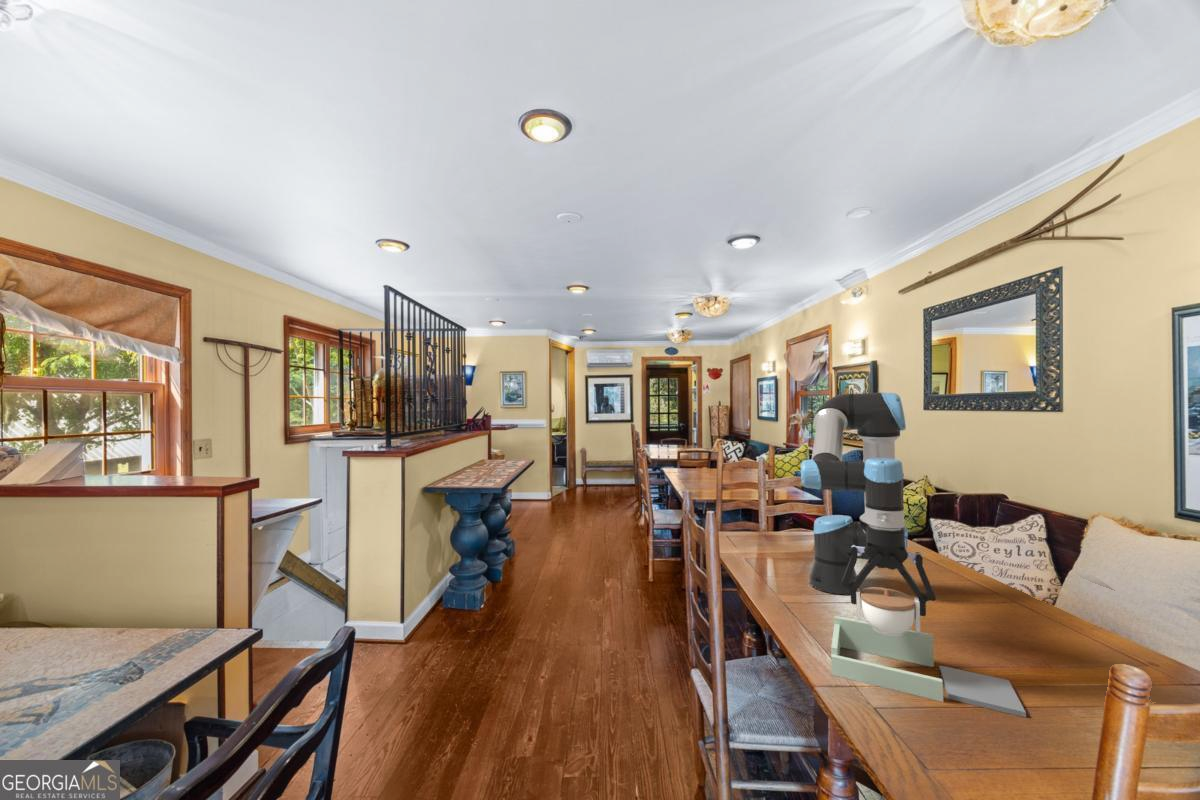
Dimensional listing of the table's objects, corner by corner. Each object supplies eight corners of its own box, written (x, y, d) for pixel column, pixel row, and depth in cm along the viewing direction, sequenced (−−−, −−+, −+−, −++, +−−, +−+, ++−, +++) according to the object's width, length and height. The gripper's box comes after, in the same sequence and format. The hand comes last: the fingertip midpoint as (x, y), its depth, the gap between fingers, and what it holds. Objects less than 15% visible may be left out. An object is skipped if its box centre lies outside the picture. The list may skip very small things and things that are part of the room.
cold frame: (835, 643, 116) (834, 615, 116) (933, 664, 106) (932, 634, 106) (831, 674, 103) (830, 642, 103) (943, 702, 93) (942, 666, 93)
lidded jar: (926, 644, 98) (924, 600, 98) (871, 640, 100) (869, 597, 100) (903, 621, 109) (902, 581, 109) (854, 617, 111) (853, 578, 111)
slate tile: (939, 669, 104) (939, 665, 104) (1008, 684, 98) (1008, 680, 98) (948, 698, 94) (947, 693, 94) (1026, 717, 88) (1025, 712, 88)
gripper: (827, 524, 107) (829, 619, 107) (950, 537, 96) (953, 643, 95) (829, 517, 114) (831, 607, 113) (945, 528, 102) (948, 628, 102)
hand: (887, 623), depth 104 cm, fingers closed on lidded jar, 11 cm apart
